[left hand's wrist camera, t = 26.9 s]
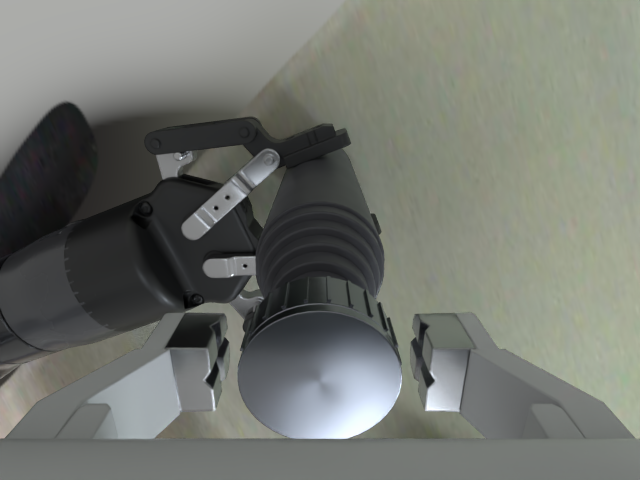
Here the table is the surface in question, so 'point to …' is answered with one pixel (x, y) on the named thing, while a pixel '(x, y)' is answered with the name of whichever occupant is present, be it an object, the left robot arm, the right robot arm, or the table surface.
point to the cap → (319, 360)
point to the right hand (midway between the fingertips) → (362, 181)
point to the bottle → (320, 229)
